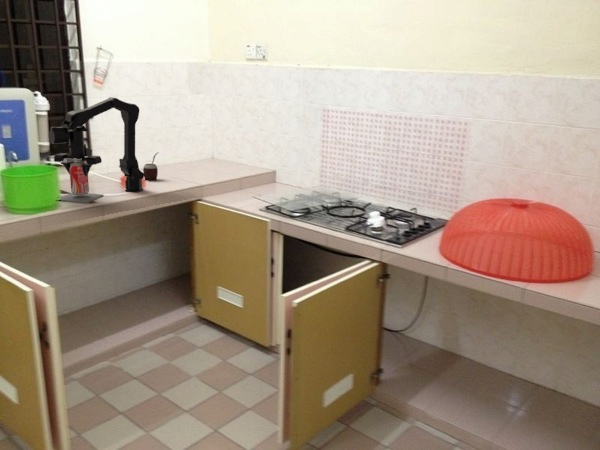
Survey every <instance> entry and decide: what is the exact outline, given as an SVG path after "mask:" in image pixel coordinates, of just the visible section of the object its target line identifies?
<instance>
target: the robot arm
mask: <svg viewBox="0 0 600 450" xmlns="http://www.w3.org/2000/svg"><path fill="white" fill-rule="evenodd" d="M112 109H115V110H117V111H120V116H121V119H122V122H123V124H124V125H123V134H124V135H123V140H124V141H123V145H124V146H123V148H124V149H123V153H124V154H123V157H122V158H119V166H118V168H120V171H121V172H122V173H123V175H124V177H125V179H126V180H125V181H124V182H125V183H124V184H125V189H124V191H125V192H131V193H140V192H141V191H143V190H144V189H145V188H143V182H142V181H143V179H144V173H143V171H141V169H140V167H139V161H138V159H137V157H136V124H137V122H138V120H139V117H140V107H139V106H138V105H137V104H135V103H129V102H126V101H123V100H121V99H119V98H117V97H111V96H110V97H108V98H106V99H103V100H102V101H100V102H97V103H95V104H93V105H91V106H88V107H86V108H83V109H76V110H71V111H68V112H67V113H66V114H65V117H64V118H65V119H64V120H63V122H62V123H61V125H60V126H50V128H49V129H50V130H49V131H48V132H49V133H48V139H49V143H50V144H52V145H55V144H56V145H57V144H67V143H69V144H68V145H67V148H69V153H63V152H61V153H57V154H55V155H54V157H53V162H55V163H56V162H57V163H60V165H62V166H63V167H64V168H65V169H66V171H67V172H68V174H69V175H70V166H71V165H70V164H71V163H75V162H84V163H85V164H82V168H83V172H84V175H85V177H86V176H88V177H89V172H90V169H91V167H92V166H93V165H94V166H95V165H98V164H102V161H103V160H102V158H101V156H100V155H93V149H90V148H89V147H87V144H85V142H84V141H85V139H84V132H88V131H89V129H88V128H86V127H85V125H86V123H87V122H89V121H90V119H92V118H94V117H95V116H98V115H100V114H103V113H105V112H107V111H110V110H112Z"/></svg>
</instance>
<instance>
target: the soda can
mask: <svg viewBox="0 0 600 450" xmlns="http://www.w3.org/2000/svg"><path fill="white" fill-rule="evenodd" d="M82 164H85V162H74V163H71V164H70V165H71V166H70V174H69V178H70V179H69V181H70V191H71V193H73V194H74V195H85V194H87V193H90V187H89V185H90V183H89V175H88V176H86V177H85V175H84V172H83V168H82Z"/></svg>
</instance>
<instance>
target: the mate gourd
mask: <svg viewBox="0 0 600 450" xmlns="http://www.w3.org/2000/svg"><path fill="white" fill-rule="evenodd" d="M158 154H160V153H159V152H156V153H155V154H154V155H153V157H152V161H151V163H145V164H144V165H143V169H142V173H144V177H143V179H145V180H144V181H149V182H152V181H157V180H158V179H157V178H158V171H159V170H158V166H157V165H156V164H155V163H154V162H155V159H156V156H157V155H158Z"/></svg>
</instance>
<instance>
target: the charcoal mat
mask: <svg viewBox="0 0 600 450" xmlns="http://www.w3.org/2000/svg"><path fill="white" fill-rule="evenodd" d="M60 197H61V199H60V200H61V201H60V202H69V203H78V204H89V203H91V202H93V201H95V200H97V199H100V198H102V197H104V194H103V193H102V194H100V193H90V192H88V193H87V194H85V195H74V194H73V193H72V192H71V193H70V192H69V193H68V194H66V195H63V196H60Z"/></svg>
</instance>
